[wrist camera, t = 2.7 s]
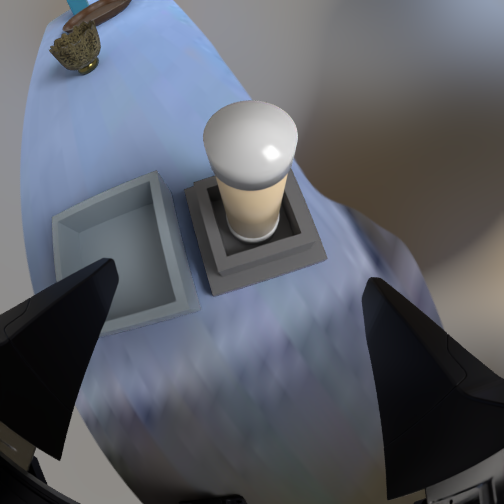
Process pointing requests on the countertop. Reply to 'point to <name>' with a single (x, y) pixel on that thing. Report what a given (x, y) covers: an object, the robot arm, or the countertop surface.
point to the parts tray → (130, 251)
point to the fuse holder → (246, 256)
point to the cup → (78, 48)
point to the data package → (77, 5)
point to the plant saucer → (97, 13)
